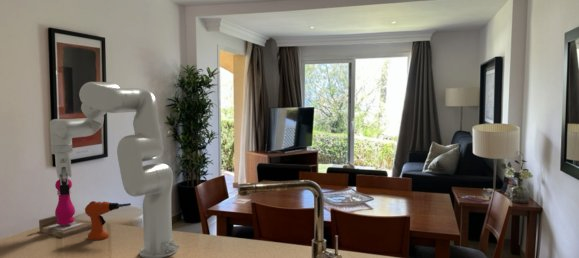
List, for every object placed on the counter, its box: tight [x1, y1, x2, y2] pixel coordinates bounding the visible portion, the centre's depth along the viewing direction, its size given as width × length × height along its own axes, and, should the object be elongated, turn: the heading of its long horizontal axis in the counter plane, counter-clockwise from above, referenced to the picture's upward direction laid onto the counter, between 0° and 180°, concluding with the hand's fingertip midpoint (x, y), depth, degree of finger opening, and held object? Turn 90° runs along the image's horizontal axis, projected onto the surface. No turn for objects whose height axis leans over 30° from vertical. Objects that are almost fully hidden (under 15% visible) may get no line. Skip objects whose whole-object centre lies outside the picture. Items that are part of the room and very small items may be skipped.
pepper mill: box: [54, 176, 76, 225], centre depth 165 cm, size 7×7×20 cm
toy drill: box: [84, 200, 132, 241], centre depth 156 cm, size 5×19×15 cm, turn 87°
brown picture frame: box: [38, 215, 92, 239], centre depth 166 cm, size 16×12×5 cm
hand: (64, 192), depth 164 cm, fingers closed on pepper mill, 5 cm apart
